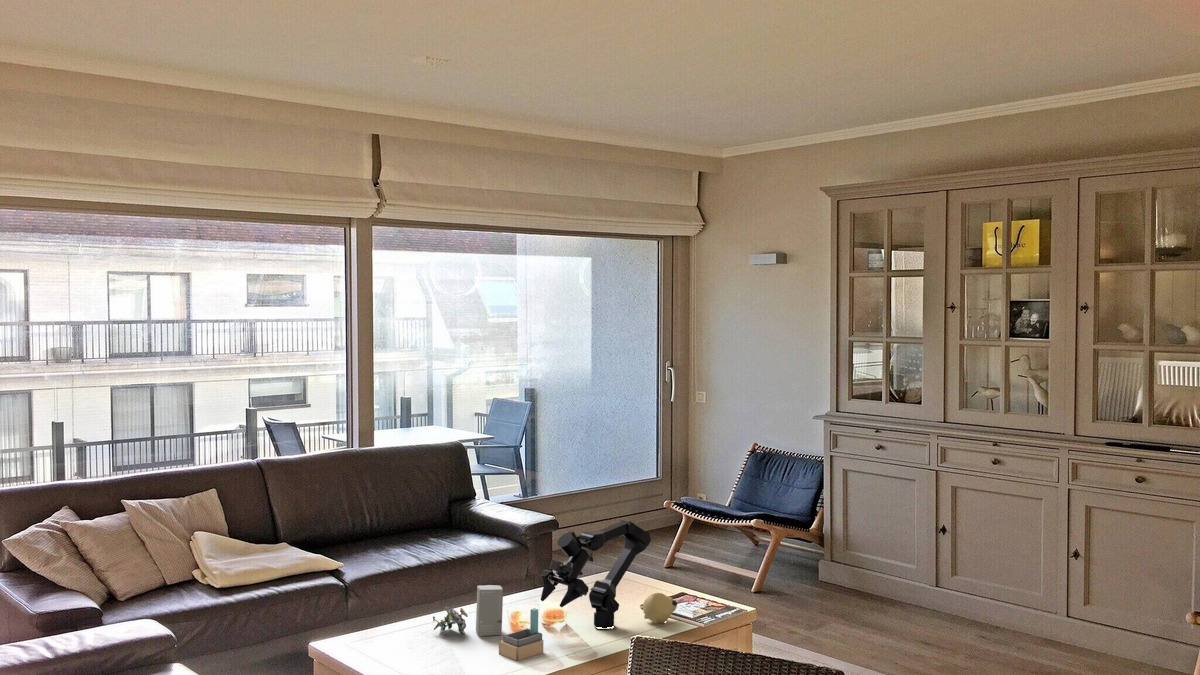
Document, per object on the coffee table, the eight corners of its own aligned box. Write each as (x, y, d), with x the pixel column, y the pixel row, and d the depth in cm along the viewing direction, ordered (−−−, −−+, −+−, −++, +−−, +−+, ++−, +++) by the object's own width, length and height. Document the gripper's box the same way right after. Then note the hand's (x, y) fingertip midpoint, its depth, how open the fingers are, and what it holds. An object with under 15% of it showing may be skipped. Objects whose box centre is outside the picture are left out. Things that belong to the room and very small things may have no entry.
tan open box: (524, 645, 318) (525, 633, 318) (543, 652, 312) (543, 640, 312) (498, 653, 310) (499, 641, 310) (517, 660, 304) (517, 648, 304)
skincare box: (478, 637, 326) (478, 590, 326) (475, 630, 333) (475, 584, 333) (503, 635, 328) (503, 588, 328) (499, 628, 335) (500, 583, 335)
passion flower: (462, 650, 329) (472, 627, 323) (430, 648, 325) (441, 624, 319) (458, 623, 338) (469, 600, 332) (428, 620, 334) (438, 597, 328)
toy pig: (681, 623, 344) (681, 593, 344) (654, 629, 337) (654, 598, 337) (664, 616, 352) (665, 586, 352) (637, 621, 345) (638, 591, 345)
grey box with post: (528, 644, 318) (529, 606, 318) (543, 650, 313) (543, 611, 313) (503, 652, 310) (503, 613, 310) (517, 658, 305) (518, 618, 305)
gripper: (544, 545, 330) (519, 584, 322) (583, 555, 317) (557, 595, 309) (561, 564, 336) (536, 602, 328) (599, 575, 323) (575, 615, 315)
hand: (550, 603), depth 320 cm, fingers open, 9 cm apart
